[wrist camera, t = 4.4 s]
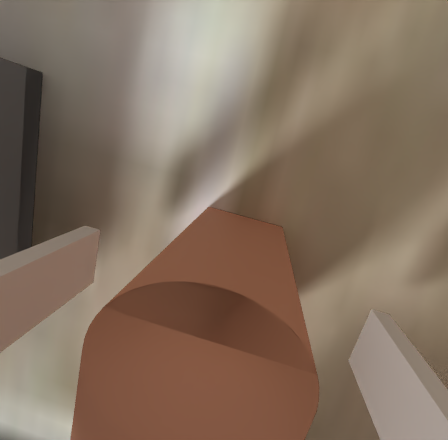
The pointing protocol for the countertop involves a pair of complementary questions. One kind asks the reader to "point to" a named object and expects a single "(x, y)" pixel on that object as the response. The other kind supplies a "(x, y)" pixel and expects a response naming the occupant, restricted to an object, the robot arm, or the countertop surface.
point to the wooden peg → (202, 343)
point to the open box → (18, 154)
